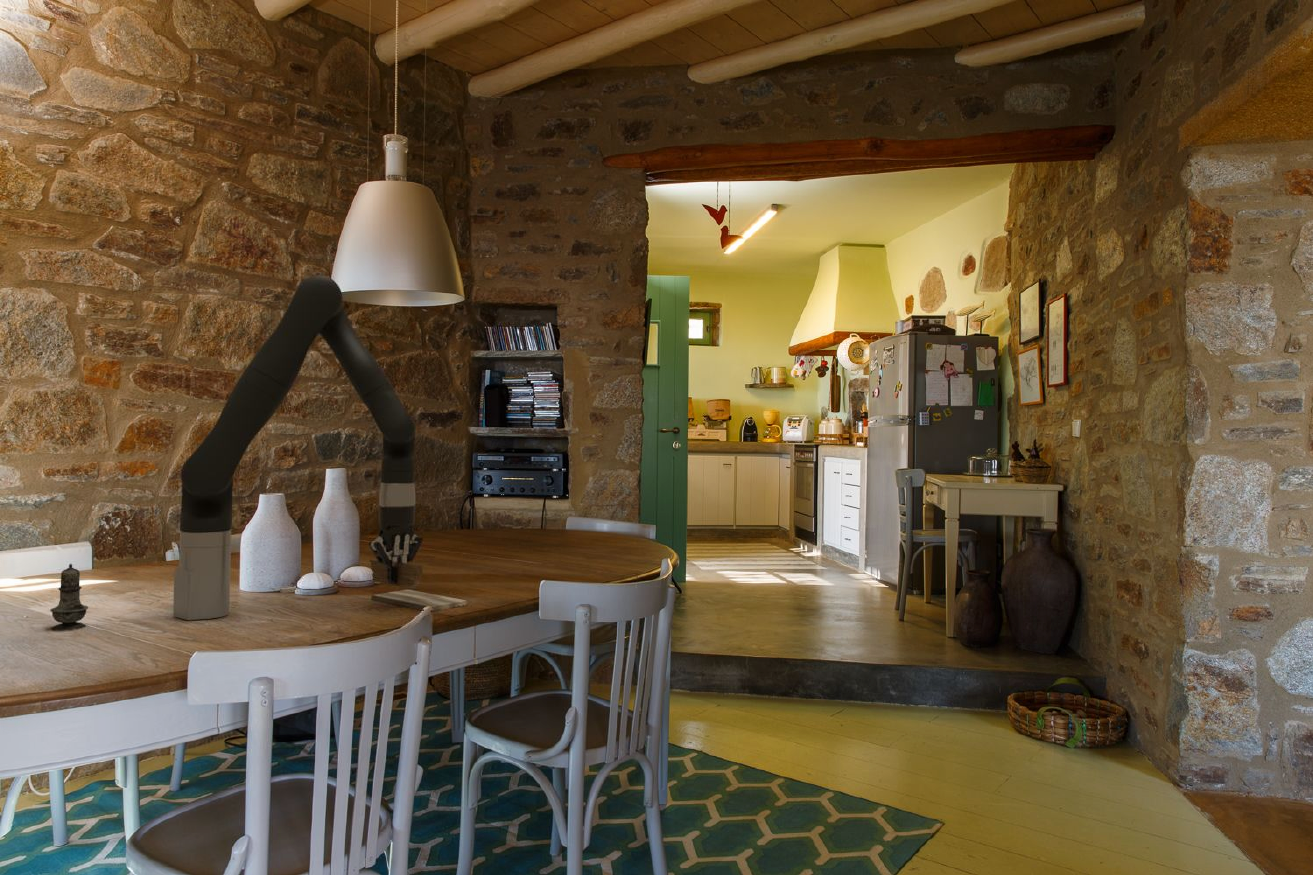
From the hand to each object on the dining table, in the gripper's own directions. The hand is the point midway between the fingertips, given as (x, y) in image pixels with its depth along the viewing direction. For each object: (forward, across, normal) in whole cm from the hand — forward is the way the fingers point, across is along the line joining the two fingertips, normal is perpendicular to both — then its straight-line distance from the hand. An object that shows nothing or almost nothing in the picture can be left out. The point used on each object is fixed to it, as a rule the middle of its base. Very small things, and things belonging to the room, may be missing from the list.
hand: (395, 582), depth 187 cm
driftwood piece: (+1, 0, 0) cm, 1 cm away
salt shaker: (+5, +52, -29) cm, 59 cm away
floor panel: (+5, -6, 0) cm, 8 cm away
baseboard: (+6, -9, -33) cm, 35 cm away
